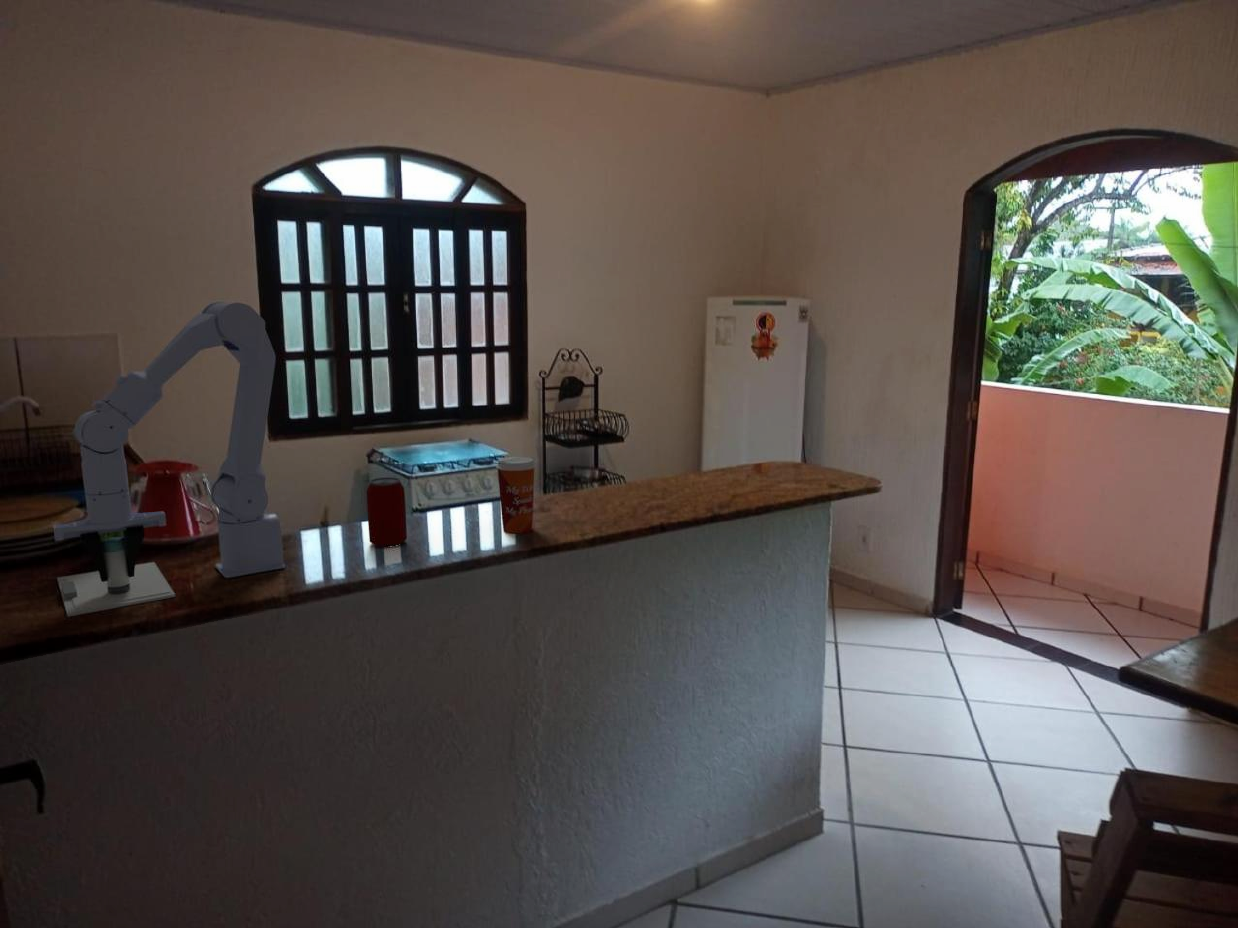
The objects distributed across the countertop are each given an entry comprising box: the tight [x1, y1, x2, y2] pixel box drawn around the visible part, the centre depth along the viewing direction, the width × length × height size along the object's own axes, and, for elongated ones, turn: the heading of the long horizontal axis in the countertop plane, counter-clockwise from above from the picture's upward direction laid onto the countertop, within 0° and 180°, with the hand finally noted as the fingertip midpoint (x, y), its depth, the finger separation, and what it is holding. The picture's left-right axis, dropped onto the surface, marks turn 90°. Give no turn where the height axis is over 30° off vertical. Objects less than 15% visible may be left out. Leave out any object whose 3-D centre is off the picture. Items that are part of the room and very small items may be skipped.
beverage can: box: [366, 477, 408, 548], centre depth 158 cm, size 7×7×12 cm
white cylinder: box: [102, 537, 130, 594], centre depth 131 cm, size 3×3×8 cm
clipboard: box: [57, 561, 176, 618], centre depth 135 cm, size 14×20×1 cm
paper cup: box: [495, 456, 537, 535], centre depth 167 cm, size 8×8×14 cm
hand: (117, 577), depth 131 cm, fingers closed on white cylinder, 3 cm apart
